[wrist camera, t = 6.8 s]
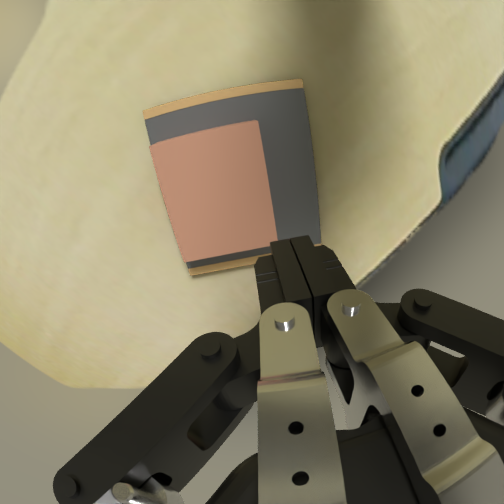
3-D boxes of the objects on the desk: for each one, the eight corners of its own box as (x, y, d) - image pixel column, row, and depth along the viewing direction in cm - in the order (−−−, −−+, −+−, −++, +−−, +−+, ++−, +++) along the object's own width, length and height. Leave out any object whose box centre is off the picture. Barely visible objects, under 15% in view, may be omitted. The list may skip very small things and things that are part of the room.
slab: (254, 119, 20) (157, 142, 20) (258, 120, 18) (149, 146, 18) (273, 231, 25) (188, 247, 25) (278, 244, 23) (184, 262, 23)
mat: (144, 110, 19) (142, 110, 19) (300, 79, 19) (302, 78, 18) (191, 272, 27) (190, 275, 26) (319, 247, 27) (321, 250, 26)
